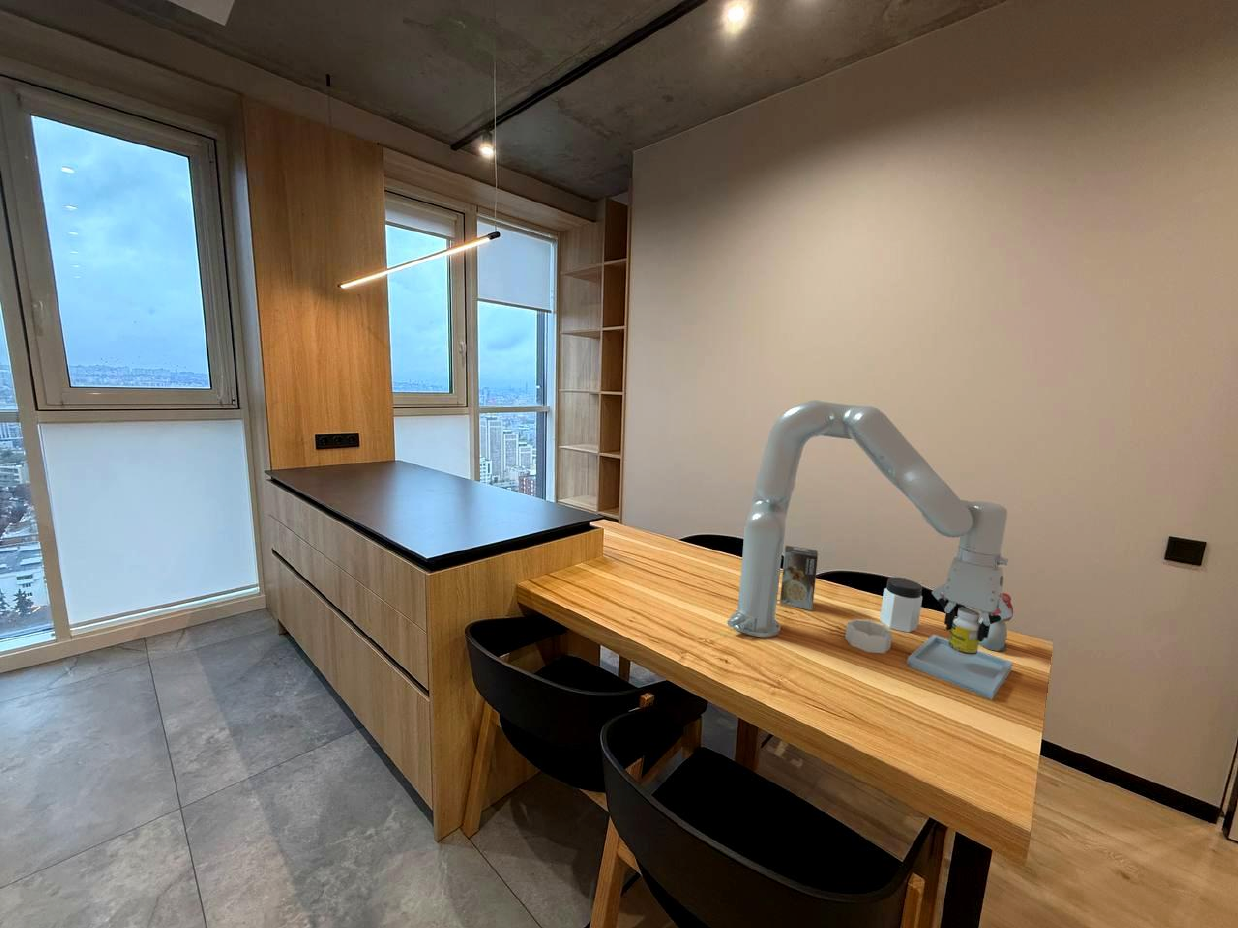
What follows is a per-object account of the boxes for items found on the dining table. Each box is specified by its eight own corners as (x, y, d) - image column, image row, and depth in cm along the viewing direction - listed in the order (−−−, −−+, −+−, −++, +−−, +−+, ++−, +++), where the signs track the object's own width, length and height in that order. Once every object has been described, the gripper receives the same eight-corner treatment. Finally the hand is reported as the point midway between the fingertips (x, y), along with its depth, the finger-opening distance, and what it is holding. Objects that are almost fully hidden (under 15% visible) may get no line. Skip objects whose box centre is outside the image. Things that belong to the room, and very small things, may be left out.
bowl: (879, 656, 116) (881, 641, 115) (840, 640, 122) (842, 625, 122) (894, 645, 122) (896, 630, 121) (856, 630, 129) (858, 616, 128)
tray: (992, 699, 101) (993, 690, 101) (907, 664, 113) (908, 656, 113) (1010, 670, 113) (1012, 662, 113) (932, 641, 125) (933, 634, 124)
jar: (905, 635, 128) (912, 591, 126) (874, 622, 134) (880, 580, 132) (922, 627, 132) (929, 585, 131) (891, 615, 139) (898, 575, 137)
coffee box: (812, 602, 145) (819, 550, 143) (812, 611, 139) (819, 556, 137) (780, 596, 148) (785, 544, 146) (778, 604, 142) (784, 550, 140)
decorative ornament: (1006, 657, 119) (1017, 598, 117) (973, 647, 123) (983, 590, 121) (1005, 642, 127) (1015, 587, 124) (974, 634, 130) (983, 580, 128)
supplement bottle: (942, 645, 115) (948, 605, 113) (963, 645, 115) (970, 605, 114) (960, 657, 109) (967, 616, 108) (982, 657, 110) (989, 616, 109)
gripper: (1030, 565, 105) (1015, 644, 108) (939, 544, 118) (927, 615, 120) (1023, 572, 100) (1008, 655, 103) (928, 549, 113) (917, 623, 116)
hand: (965, 633), depth 112 cm, fingers closed on supplement bottle, 5 cm apart
